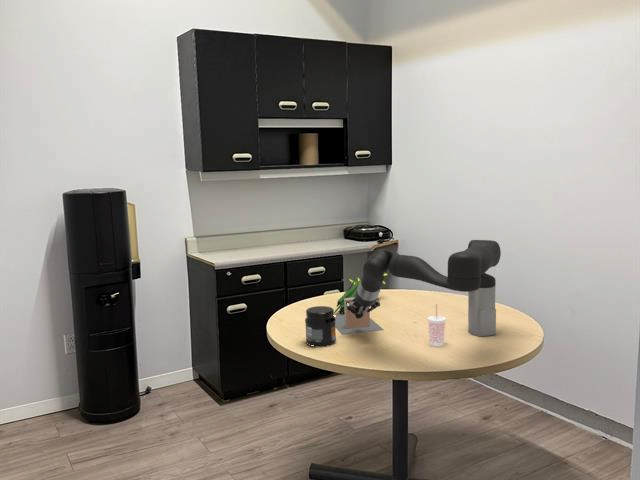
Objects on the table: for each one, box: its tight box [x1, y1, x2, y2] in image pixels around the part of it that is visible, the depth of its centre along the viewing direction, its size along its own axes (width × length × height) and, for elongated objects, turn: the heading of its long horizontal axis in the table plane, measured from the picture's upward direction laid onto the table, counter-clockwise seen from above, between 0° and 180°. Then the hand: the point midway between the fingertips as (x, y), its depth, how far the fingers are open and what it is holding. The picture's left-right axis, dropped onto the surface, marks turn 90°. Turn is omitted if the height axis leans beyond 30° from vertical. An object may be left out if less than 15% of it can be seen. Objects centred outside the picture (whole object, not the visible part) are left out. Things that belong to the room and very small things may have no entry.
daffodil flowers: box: [334, 272, 388, 314], centre depth 251 cm, size 17×15×35 cm
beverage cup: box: [427, 303, 447, 347], centre depth 199 cm, size 6×6×14 cm
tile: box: [343, 297, 371, 329], centre depth 220 cm, size 2×9×11 cm, turn 104°
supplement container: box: [304, 305, 337, 347], centre depth 205 cm, size 10×10×12 cm
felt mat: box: [334, 312, 385, 336], centre depth 227 cm, size 26×16×1 cm, turn 14°
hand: (358, 316), depth 216 cm, fingers closed
